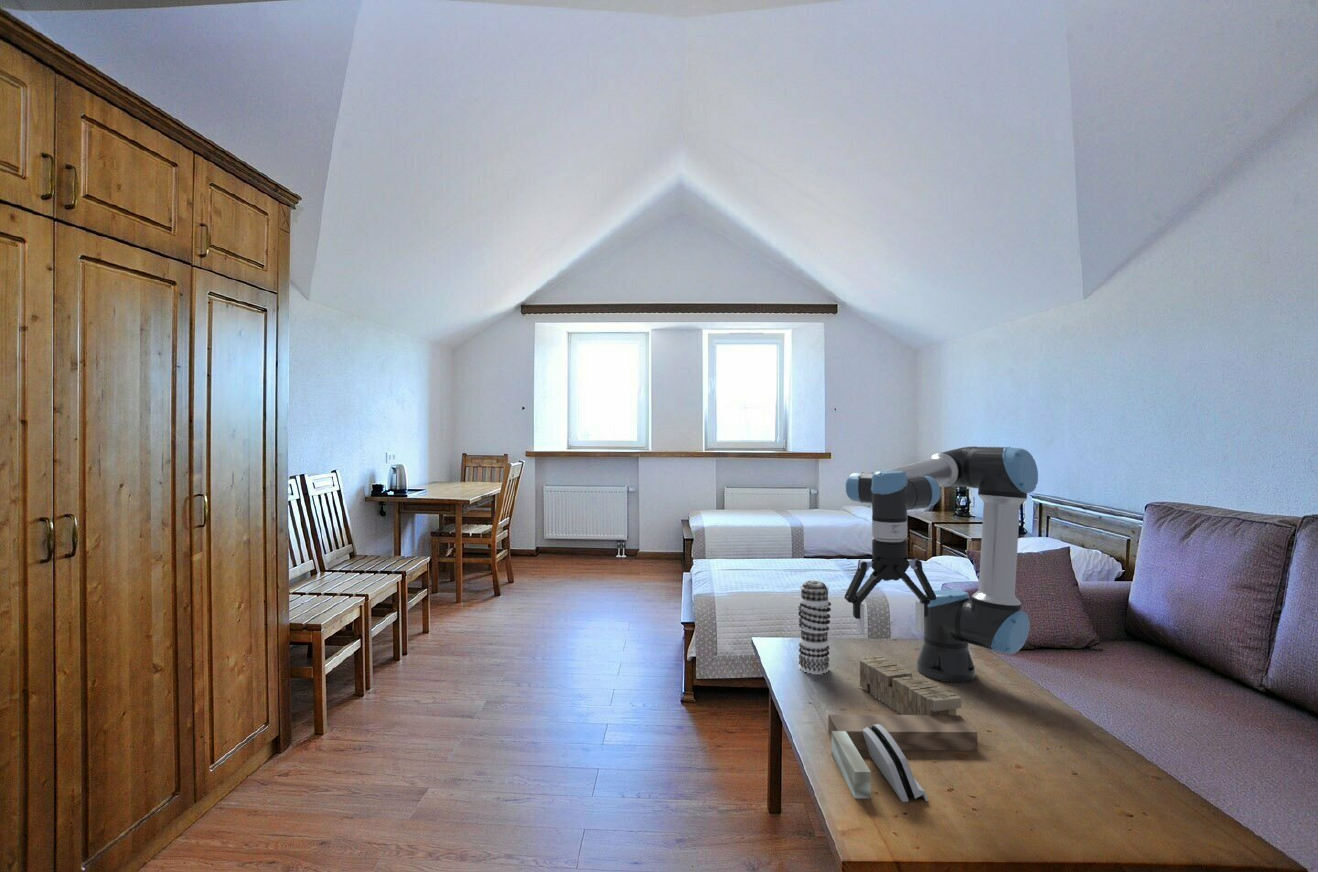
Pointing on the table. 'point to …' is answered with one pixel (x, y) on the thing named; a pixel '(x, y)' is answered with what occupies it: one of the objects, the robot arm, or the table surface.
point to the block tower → (905, 689)
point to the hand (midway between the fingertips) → (890, 631)
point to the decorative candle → (814, 627)
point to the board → (904, 731)
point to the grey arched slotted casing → (892, 763)
